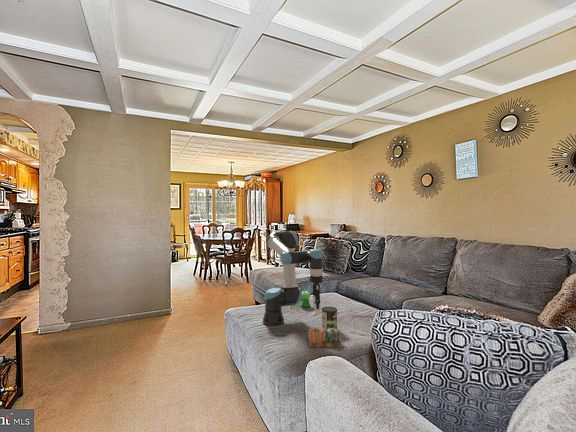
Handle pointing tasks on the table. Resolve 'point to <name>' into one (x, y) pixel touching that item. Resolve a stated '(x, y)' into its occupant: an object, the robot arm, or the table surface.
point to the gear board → (325, 344)
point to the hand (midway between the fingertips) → (316, 310)
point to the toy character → (304, 299)
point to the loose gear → (316, 335)
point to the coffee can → (329, 317)
